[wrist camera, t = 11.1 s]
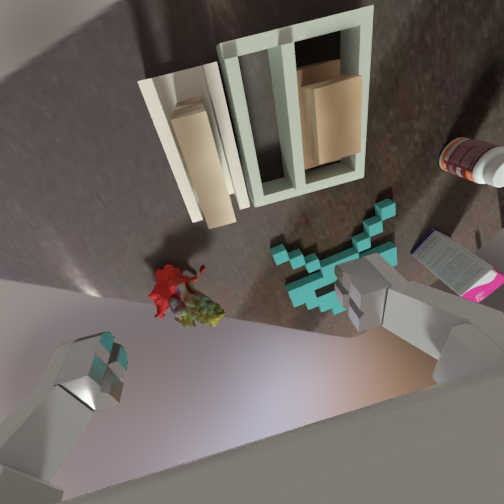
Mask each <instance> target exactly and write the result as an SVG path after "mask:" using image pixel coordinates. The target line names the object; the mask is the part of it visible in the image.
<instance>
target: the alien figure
mask: <svg viewBox="0 0 504 504" xmlns="http://www.w3.org/2000/svg"><path fill="white" fill-rule="evenodd" d="M375 214H376V216H373V217H371V218H369V219H366V220H364V221H363V228H364V232H362V233H360V234H357V235H355V236H353V237H352V243H353V247H352V248H349V249H347V250H345V251H342V252H340V253H337V254H335V255H333V256H330V257H328V258H326V259H323V260H321V261H319V259H318V257H317V256H316V254H315V253H313V254H310V255H308V256H306V257H303V254H302V252H301V251H300V249H296V250H294V251H292V252H289V253H287V251H286V249H285V247H284V245H283V244H281V245H278V246H276V247H274V248H271V249H270V251H271V253H272V255H273V258H274V260H275V262H276V264H277V265H279V264H281V263H284V262H286V261H288V260H289V262H290V264H291V266H292V268H293V269H296V268H298V267H300V266H303V265H305V268H306V269H307V271H308V273H311V272H313V271H316V270H318V269H319V270H320V271H318V272H316V273H313V274H311V275H309V276H306V277H304V278H301V279H299V280H297V281H294V282H292V283H289V284H287V285H285V286H286V289H287V291H288V293H289V296H290V298H291V300H292V303H293V305H294V307H296V306H299V305H301V304H304V303H305V304H306V306H307V308H308V310H309V309H312V308H314V307H317V306H318V307H319V309H320V310H321V312H324V311H326V310H329V309H331V310H332V312H333V314H334V315H335V314H337V313H340V312H342V311H344V310H347V309H345V308H343V307H342V305H341V304H340V302H339V300H338V298H337V295H336V292H335V281H336V280H337V277H336V275H335V274H334V268H335V265H338V264H341V263H344V262H348V261H351V260H354V259H358V258H362V257H364V256H368V255H371V254H374V253H378V254H380V255H381V256H382V257H383V258H384V259H385V260H386V261H387V262H388V263H389V264H390V265H391V266H392V267H393V266H396V265H397V247H396V246H395V245H394V244H393V243H392V242H391V241H389V242H387V243H385V244H382V245H380V246H378V247H375V248H373V249H370V250H368V251H366V252H363V253H361V254H359V252H361V251H363V250H366V249H368V248H371V243H370V237H371V236H374V235H376V234H379V233H381V232H383V226H382V220H385V219H387V218H390V217H392V216H394V215H396V211H395V202H393V201H392V200H390V199H385V200H383V201H381V202H378V203H376V204H375Z"/></svg>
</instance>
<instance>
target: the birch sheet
mask: <svg viewBox="0 0 504 504" xmlns="http://www.w3.org/2000/svg"><path fill="white" fill-rule="evenodd" d="M171 122H172V125H173V128H174V131H175V134H176V137H177V139H178V142H179V145H180V148H181V151H182V154H183V156H184V159H185V162H186V165H187V168H188V171H189V173H190V176H191V179H192V182H193V185H194V188H195V190H196V193H197V196H198V199H199V202H200V205H201V207H202V210H203V213H204V216H205V219H206V222H207V224H208V227H209V229H212V228H216V227H219V226H223V225H226V224H230V223H234V222H236V219H235V215H234V211H233V208H232V204H231V200H230V197H229V193H228V189H227V186H226V182H225V179H224V175H223V171H222V168H221V164H220V160H219V157H218V153H217V149H216V146H215V142H214V138H213V135H212V131H211V127H210V124H209V120H208V116H207V113H206V110H205V107H204V105H203V102H202V100H201V97H196V98H192V99H188V100H184V101H180V102H177V104H176V107H175V109H174V112H173V115H172V118H171Z"/></svg>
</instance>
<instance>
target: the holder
mask: <svg viewBox="0 0 504 504" xmlns="http://www.w3.org/2000/svg"><path fill="white" fill-rule="evenodd" d="M137 82H138V84H139V87H140V89H141V92H142V94H143V97H144V100H145V102H146V105H147V107H148V110H149V112H150V115H151V117H152V120H153V123H154V125H155V128H156V130H157V133H158V135H159V138H160V140H161V143H162V146H163V148H164V151H165V153H166V156H167V158H168V161H169V163H170V166H171V169H172V171H173V174H174V176H175V179H176V181H177V184H178V186H179V189H180V192H181V194H182V197H183V199H184V202H185V204H186V207H187V209H188V212H189V215H190V217H191V220H192V222H193V223H194V222H197V221H201V220H203V217H202V207H201V205H200V202H199V199H198V196H197V193H196V190H195V188H194V185H193V182H192V179H191V176H190V173H189V171H188V168H187V165H186V162H185V159H184V156H183V154H182V151H181V148H180V145H179V142H178V139H177V137H176V134H175V131H174V128H173V125H172V122H171V118H172V115H173V112H174V109H175V107H176V104H177V102H180V101H184V100H188V99H192V98H196V97H201V100H202V102H203V105H204V107H205V110H206V113H207V116H208V120H209V124H210V127H211V131H212V135H213V138H214V142H215V146H216V149H217V153H218V157H219V160H220V164H221V168H222V171H223V175H224V179H225V182H226V186H227V189H228V193H229V195H230V194H233V193H234V194H235V197H236V200H237V202H238V205H239V208H240V209H244V208H248V207H250V204H249V200H248V196H247V191H246V187H245V183H244V178H243V174H242V169H241V165H240V161H239V156H238V152H237V148H236V143H235V139H234V134H233V130H232V126H231V121H230V117H229V112H228V108H227V104H226V99H225V95H224V91H223V86H222V82H221V77H220V73H219V69H218V64H217V62H213V63H209V64H205V65H201V66H197V67H193V68H189V69H185V70H182V71H178V72H174V73H170V74H166V75H162V76H158V77H153V78H149V79H145V80H141V81H137Z"/></svg>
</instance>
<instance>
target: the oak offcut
mask: <svg viewBox="0 0 504 504" xmlns="http://www.w3.org/2000/svg"><path fill="white" fill-rule="evenodd" d="M301 94H302V104H303V114H304V124H305V134H306V143H307V153H308V156H309V157H310V158H312V159H313V160H314V161H316V162H317V163H318V164H323V163H326V162H329V161H333V160H336V159H339V158H343V157H346V156H349V155H352V154H356V153H359V152H361V108H362V75H345V74H344V75H340V76H337V77H334V78H330V79H327V80H323V81H320V82H317V83H313V84H310V85H307V86H303V87H301Z"/></svg>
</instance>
